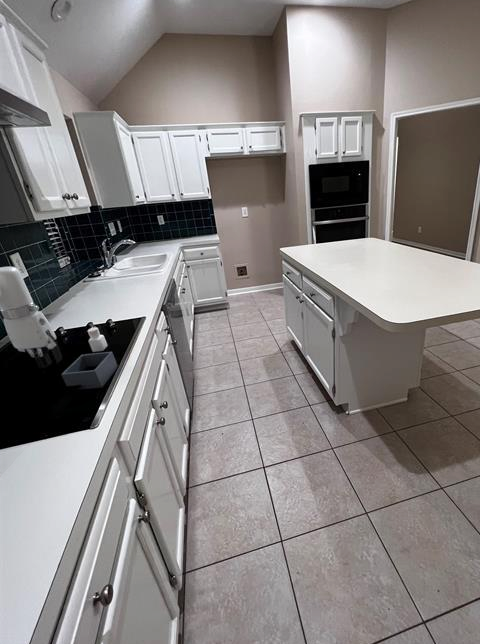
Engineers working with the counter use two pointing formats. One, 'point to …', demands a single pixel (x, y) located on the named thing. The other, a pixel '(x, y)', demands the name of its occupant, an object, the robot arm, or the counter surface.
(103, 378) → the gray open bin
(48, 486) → the counter surface
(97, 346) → the pepper shaker
